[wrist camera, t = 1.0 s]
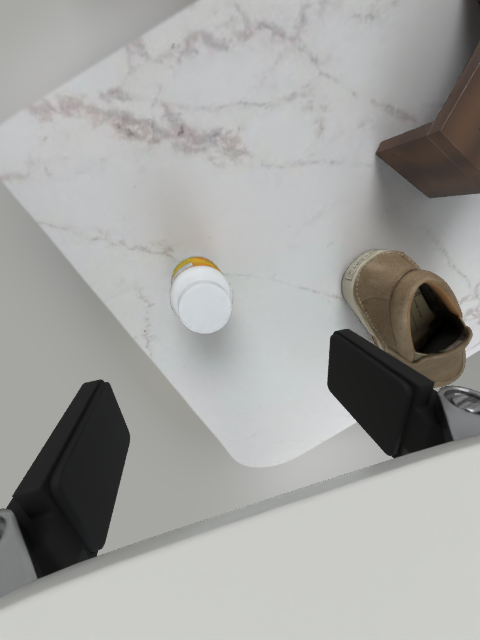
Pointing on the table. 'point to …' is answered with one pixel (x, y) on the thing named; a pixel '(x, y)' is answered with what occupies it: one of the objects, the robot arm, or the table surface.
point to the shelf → (444, 143)
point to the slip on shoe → (409, 313)
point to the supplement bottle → (201, 295)
